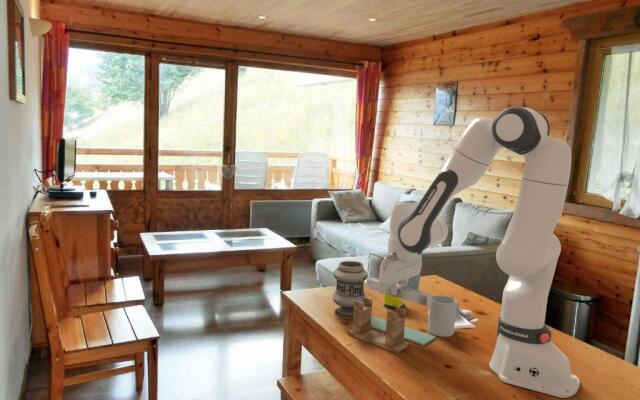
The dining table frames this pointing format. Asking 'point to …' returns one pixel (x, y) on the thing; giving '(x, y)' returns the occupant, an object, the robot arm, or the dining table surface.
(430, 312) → the mug
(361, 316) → the rack
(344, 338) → the dining table surface
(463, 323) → the cloth
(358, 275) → the apothecary jar
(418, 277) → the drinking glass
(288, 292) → the dining table surface
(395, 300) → the supplement box
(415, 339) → the mat
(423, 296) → the rail
